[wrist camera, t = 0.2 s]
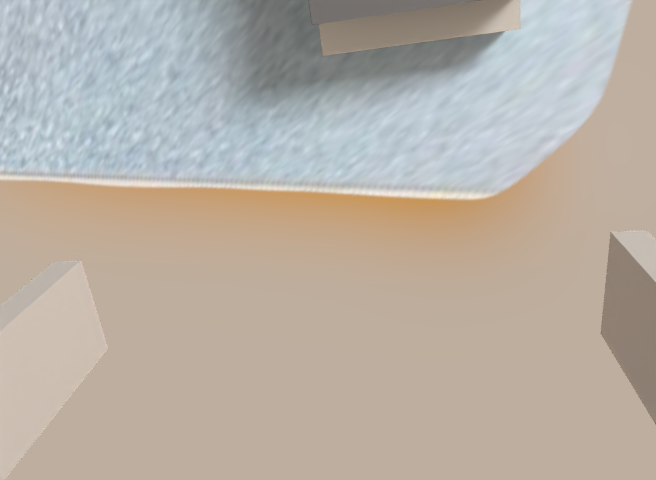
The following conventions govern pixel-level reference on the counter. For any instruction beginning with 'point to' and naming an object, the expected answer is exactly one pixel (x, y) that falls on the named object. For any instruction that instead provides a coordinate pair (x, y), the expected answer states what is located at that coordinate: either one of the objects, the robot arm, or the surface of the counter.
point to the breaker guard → (406, 21)
